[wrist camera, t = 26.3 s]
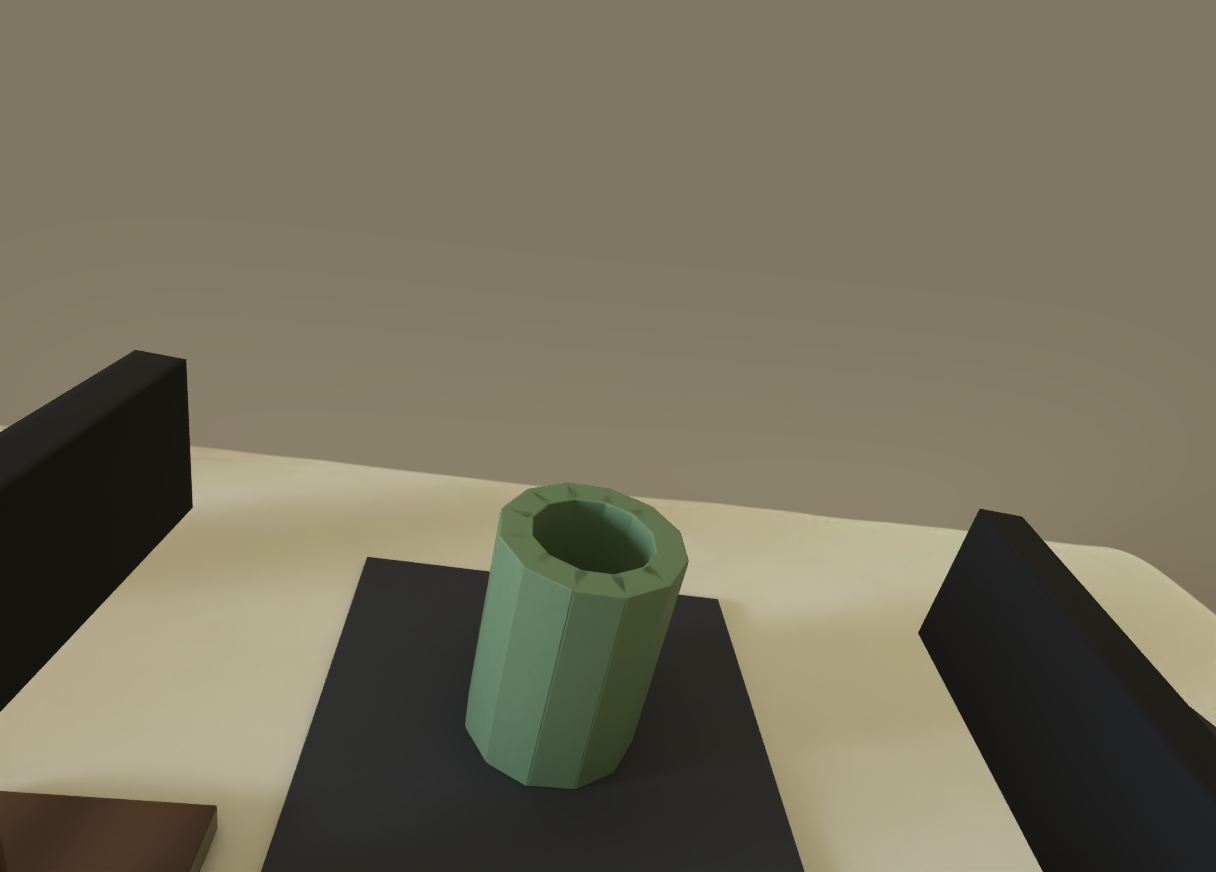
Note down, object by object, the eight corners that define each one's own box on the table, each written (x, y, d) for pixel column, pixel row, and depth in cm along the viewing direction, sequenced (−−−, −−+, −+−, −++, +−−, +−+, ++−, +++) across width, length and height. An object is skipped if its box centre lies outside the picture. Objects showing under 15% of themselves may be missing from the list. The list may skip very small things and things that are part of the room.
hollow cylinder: (622, 665, 38) (671, 496, 34) (639, 795, 32) (702, 606, 27) (473, 650, 37) (504, 473, 33) (458, 781, 30) (494, 581, 26)
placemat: (716, 604, 45) (718, 598, 45) (830, 970, 27) (834, 964, 27) (366, 562, 42) (367, 556, 41) (237, 947, 24) (237, 940, 24)
